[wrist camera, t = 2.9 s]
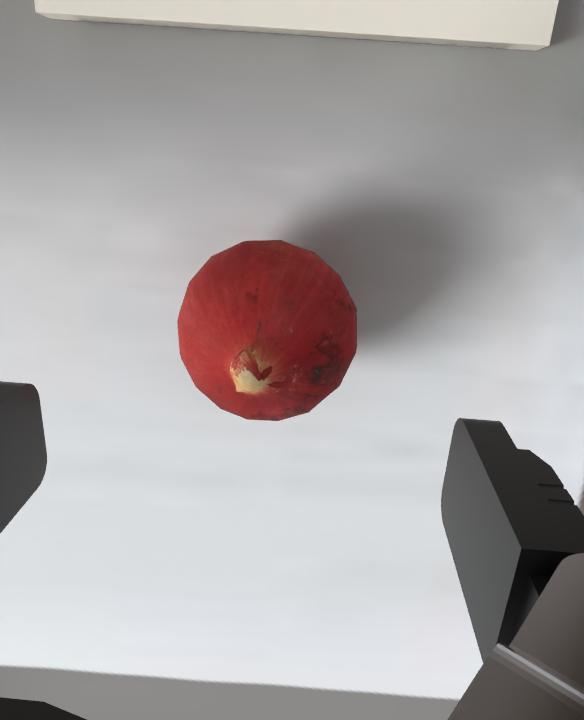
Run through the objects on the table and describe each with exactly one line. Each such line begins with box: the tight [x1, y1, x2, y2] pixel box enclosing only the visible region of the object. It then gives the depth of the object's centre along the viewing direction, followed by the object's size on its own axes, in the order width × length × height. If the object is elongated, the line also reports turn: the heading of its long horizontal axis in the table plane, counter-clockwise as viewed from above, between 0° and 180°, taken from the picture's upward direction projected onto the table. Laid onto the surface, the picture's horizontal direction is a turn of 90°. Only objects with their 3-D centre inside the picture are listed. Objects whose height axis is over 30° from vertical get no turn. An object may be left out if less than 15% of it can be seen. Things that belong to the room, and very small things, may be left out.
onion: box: [177, 240, 357, 421], centre depth 18 cm, size 6×6×8 cm
